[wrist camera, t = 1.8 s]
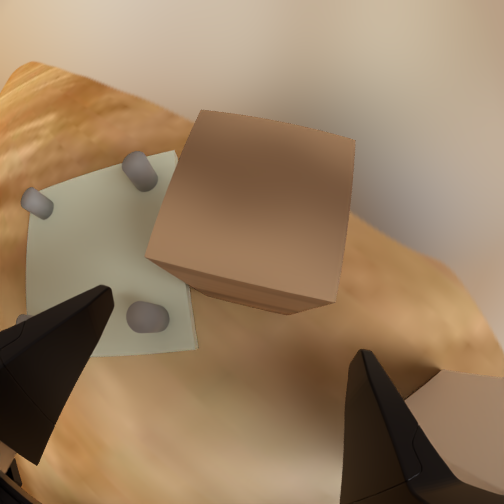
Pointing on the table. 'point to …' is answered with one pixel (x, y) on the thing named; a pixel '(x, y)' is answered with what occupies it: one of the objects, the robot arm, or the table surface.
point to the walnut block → (257, 213)
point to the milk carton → (465, 425)
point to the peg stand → (109, 255)
